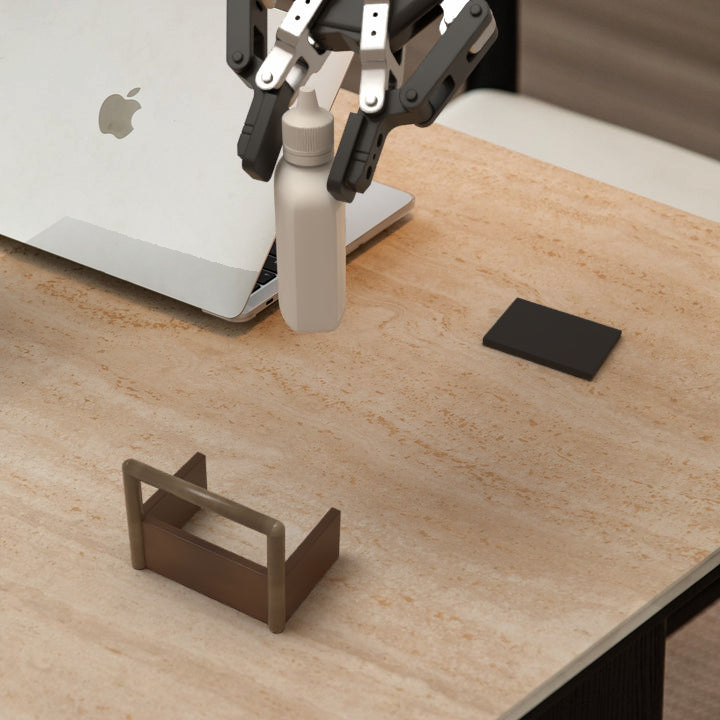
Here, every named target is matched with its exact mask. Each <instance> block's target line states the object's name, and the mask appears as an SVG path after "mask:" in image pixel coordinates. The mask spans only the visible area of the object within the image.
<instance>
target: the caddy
mask: <svg viewBox="0 0 720 720" xmlns="http://www.w3.org/2000/svg"><path fill="white" fill-rule="evenodd" d="M207 472H208V471H207V455H206V454H204V453H202V452H199V451H196V452H195V454H193V455H192V457H190V458H189V459H188V460H187V461H186V462H185V463H183V465H182V466H181V467H180V468H179V469H177V471H175V473H174V474H170V473H168V472H166V471H163V470H161V469H159V468H157V467H154V466H151V465H149V464H147V463H144V462H143V461H142V462H141V461H140V460H137V459H136V458H126V459H125V460H124V461H123V462H122V464H121V473H122V483H123V495H124V502H125V503H124V504H125V511H126V522H127V531H128V540H129V550H130V560H131V566H132V567H133V568H134V569H136V570H143V569H145V568H146V569H149V570H151V571H152V572H155V573H157V574H160V575H162V576H164V577H166V578H168V579H170V580H172V581H174V582H177V583H179V584H181V585H183V586H185V587H187V588H190V589H192V590H194V591H196V592H199V593H201V594H203V595H205V596H207V597H209V598H211V599H213V600H215V601H218V602H220V603H222V604H224V605H226V606H229V607H231V608H233V609H235V610H237V611H240V612H242V613H244V614H246V615H248V616H250V617H252V618H254V619H257V620H259V621H261V622H262V623H263V622H264V623H265V624H267V628H268V629H269V631H270V632H273V633H276V634H277V633H281V632H283V631H284V629H285V628H286V623H287V622H288V621H289V619H290V618H291V617H292V616H293V615H294V613H295V612H296V611H297V610H298V608H299V607H300V606H301V605H302V603H303V602H304V601H305V600H306V598H307V597H308V596H309V595H310V594H311V592H312V591H313V590H314V589H315V587H316V586H317V585H318V584H319V582H320V581H321V580H322V579H323V578H324V576H325V575H326V574H327V573H328V571H329V570H330V569H331V567H332V566H333V565H334V564H335V562H336V561H337V560H338V559H339V557H340V548H341V547H340V545H341V544H340V543H341V522H342V521H341V517H342V510H340V509H339V508H335V507H333V506H332V507H330V509H329V510H328V511H327V512H326V513H325V514H324V516H323V517H322V518H321V519H320V520H319V521H318V523H317V524H316V525H315V526H314V527H313V528H312V530H311V531H310V532H309V533H308V535H306V537H304V539H303V540H302V542H300V544H299V545H298V546H297V548H295V550H294V551H293V552H292V553H291V554H290V556H289V557H288V558H287V559H286V526H285V524H284V523H283V522H282V521H281V520H279V519H277V518H274V517H271V516H269V515H267V514H265V513H263V512H260V511H258V510H255V509H253V508H250V507H248V506H246V505H243V504H241V503H239V502H236V501H235V500H232V499H229V498H227V497H226V496H225V497H224V496H222V495H220V494H217V493H216V492H213V491H210V490H208V475H207V474H208V473H207ZM142 483H143V484H146V485H148V486H150V487H153V488H156V489H157V490H156V491H155V492H154V493H152V495H151V496H150V497H148V499H147V500H146V501H144V500H143V499H144V498H143V488H142ZM201 508H202V509H204V510H207V511H209V512H211V513H213V514H216V515H218V516H221V517H223V518H225V519H228V520H230V521H232V522H234V523H236V524H239V525H241V526H243V527H246V528H249V529H251V530H252V531H256V532H258V533H260V534H262V535H265V536H266V566H264V565H263V564H260V563H257V562H255V561H253V560H251V559H249V558H247V557H245V556H241V555H240V554H238V553H235V552H233V551H230V550H229V549H226V548H224V547H221V546H219V545H217V544H214V543H213V542H210V541H208V540H206V539H203V538H201V537H199V536H197V535H194V534H192V533H190V532H187V531H185V530H183V529H181V528H183V527H184V525H185V524H186V523H187V522H188V521H189V520H190V519H191V518H193V516H194V515H195V514H196V513H197V512H198V511H199V510H200V509H201Z"/></svg>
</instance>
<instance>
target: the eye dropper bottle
mask: <svg viewBox="0 0 720 720" xmlns="http://www.w3.org/2000/svg"><path fill="white" fill-rule="evenodd" d="M289 109H290V110H288V111H286V112H285V113H284V114H283V116H282V139H283V145H282V155H281V157H280V158H279V159H278V160H277V163H276V166H275V169H274V171H273V203H274V205H273V206H274V227H275V245H276V246H275V248H276V270H277V271H276V272H277V293H278V295H277V296H278V306H279V311H280V313H281V316H282V318H283V320H284V322H285V323H286V325H287V326H288V327H289V328H290V329H291V330H292V332H294V333H296V334H302V335H303V334H304V335H305V334H322V333H325V334H326V333H331V332H332V333H333V332H335V331H337V329H339V327H340V326H341V324H342V323H343V320H344V318H345V315H346V308H347V238H346V237H347V234H346V233H347V230H346V229H347V226H346V225H347V224H346V223H347V222H346V221H347V220H346V219H347V217H346V216H347V215H346V210H347V209H346V206H347V205H346V204H347V203H346V202H342V201H338V200H335V199H334V198H333V196H332V195H331V194H330V193H329V192H328V191H327V187H326V186H327V179H328V176H329V173H330V170H331V167H332V164H333V161H334V158H335V117H334V115H333V113H332V112H331V111H330V110H328V109H326V108H325V107H323V106H320V105H319V101H318V97H317V93H316V88H315V87H314V86H312V85H305V86H302V87H300V89H299V94H298V97H297V99H296V106H295V107H292V108H289Z"/></svg>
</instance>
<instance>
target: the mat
mask: <svg viewBox="0 0 720 720" xmlns="http://www.w3.org/2000/svg"><path fill="white" fill-rule="evenodd" d="M622 333H623V330H622V329H618V328H617V327H616V328H615V327H613V326H609V325H606V324H603V323H600V322H596V321H594V320H590V319H587V318H584V317H581V316H578V315H575V314H571V313H568V312H565V311H562V310H558V309H556V308H552V307H549V306H546V305H544V304H540V303H537V302H534V301H530V300H527V299H524V298H522V297H516V298H515V299H514V300H513V301H512V302H511V304H510V305H509V306H508V307H507V308H506V309H505V311H504V312H503V313H502V314H501V315H500V317H499V318H497V320H496V321H495V323H494V324H493V325H492V326H491V327H490V329H489V330H488V331H487V332H486V333H485V334H484V335H483V337H482V342H481V343H482V344H481V345H483V346H486V347H489V348H492V349H494V350H498V351H501V352H504V353H507V354H509V355H513V356H516V357H519V358H521V359H524V360H528V361H530V362H533V363H536V364H540V365H541V366H545V367H548V368H551V369H554V370H557V371H560V372H563V373H565V374H569V375H572V376H575V377H578V378H580V379H583V380H587V381H590V382H591V381H592V380H593V379H594V377H595V376H596V374H597V373H598V372H599V370H600V368H601V367H602V365H604V363H605V361H606V360H607V358H608V357H609V355H610V354H611V353H612V351H613V349H614V348H615V346H616V345H617V343H618V342H619V341H620V339H621V338H622Z"/></svg>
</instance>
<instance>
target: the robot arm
mask: <svg viewBox="0 0 720 720" xmlns="http://www.w3.org/2000/svg"><path fill="white" fill-rule="evenodd" d="M277 1H278V0H226V21H225V23H226V25H225V27H226V28H225V29H226V30H225V32H226V34H225V36H226V37H225V38H226V39H225V40H226V41H225V61H226V65H227V66H228V67H229V68H230V70H232V72H234V74H235V75H236V76H237V77H238V78H239V80H241V82H242V83H243V84H244V85H245V86H246V87H247V88H248V89H250V90H253V97H252V101H251V103H250V106H249V109H248V112H247V114H246V118H245V120H244V123H243V126H242V128H241V133H240V135H239V137H238V140H237V143H236V155H237V156H238V157H239V159H241V169H242V170H243V171H244V172H245V173H246V174H247V175H248V176H249V177H250V178H251V179H252V180H256V181H259V182H263V183H268V182H270V181H271V179H272V177H273V175H274V172H275V168H276V165H277V163H278V161H279V157H280V154H281V151H282V149H283V139H282V116H283V114H284V113H285V112H286V111H288V110H290V109H291V107H292V106H293V105H294V104H295V102H297V100H298V94H299V89H300V87H302V86H306V84H307V83H308V81H309V79H310V78H311V76H313V74H317V73H318V72H320V71H321V69H322V68H323V66H324V64H325V63H326V62H327V60H328V58H329V56H330V55H331V53H332V52H333V53H334V52H335V53H340V52H342V53H343V52H353V53H354V54H357V55H358V56H359V61H360V70H361V71H360V80H359V89H358V90H359V91H358V106H359V107H358V109H357V112H352V111H350V112H349V114H348V116H347V117H348V118H347V120H346V123H345V125H344V129H343V132H342V135H341V138H340V140H339V143H338V147H337V149H336V153H335V154H334V156H335V158H334V161H333V164H332V167H331V170H330V173H329V176H328V179H327V186H326V187H327V191H328V192H329V193H330V194H331V195H332V196H333V198H334V199H335V200H338V201H342V202H345V204H352V203H353V202H354V200H355V197H356V195H357V193H358V194H362V195H363V194H365V193H366V191H368V189H369V188H370V186H371V185H372V182H373V178H374V175H375V172H376V170H377V168H378V167H377V166H378V165H379V161H380V158H381V156H382V152H383V149H384V146H385V143H386V140H387V137H388V135H389V134H390V133H391V132H392V131H393V130H394V129H396V128H397V127H402V126H410V125H414V126H415V127H417V128H420V129H424V128H428V127H431V126H432V125H433V124H434V122H435V121H436V120H437V119H438V117H439V116H440V115H441V113H442V112H443V110H444V109H445V108H446V106H448V104H449V102H450V101H451V100H452V99H453V98H454V96H455V95H456V93H457V92H458V91H459V89H460V88H461V87H462V86H463V84H464V83H465V81H466V80H467V79H468V77H470V75H471V73H472V72H473V71H474V69H475V68H477V66H478V64H479V63H480V61H481V60H482V59H483V58H484V57H485V55H486V54H487V52H488V51H489V50H490V48H491V47H492V45H493V44H494V43H495V42H496V41H497V39H498V36H499V30H498V29H499V28H498V26H497V23H496V19H495V17H494V14H493V11H492V9H491V8H490V5H489V3H488V2H487V1H486V0H292V5H291V6H290V8H289V10H288V11H287V12H286V14H285V16H284V18H283V19H282V21H281V22H280V24H279V26H278V28H277V30H276V32H275V42H274V44H273V46H272V47H271V49H270V51H269V52H268V46H269V45H268V41H269V39H268V34H269V33H268V29H269V28H268V27H269V26H268V21H269V19H268V12H269V11H268V10H272V9H274V8H275V7H276V4H277ZM442 16H443V17H442ZM441 17H442V20H441V21H440V23H439V32H440V33H439V34H440V37H439V39H437V41H436V43H435V44H434V45H433V46H432V47H431V49H430V51H428V53H427V54H426V55H425V57H424V58H423V60H421V62H420V63H419V65H418V67H417V68H416V69H415V71H414V72H413V73H412V74H411V76H410V77H409V78H408V79H407V81H406V82H405V84H404V85H403V83H404V76H405V64H406V53H407V52H406V51H407V49H406V48H407V44H409V43H410V42H411V41H412V40H414V39H415V38H416V37H417V36H418V35H420V34H421V33H422V32H423V31H425V30H426V29H427V28H428V27H429V26H431V25H432V24H433V23H435V22H436V21H437V20H438V19H439V18H441ZM401 86H402V88H401Z"/></svg>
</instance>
